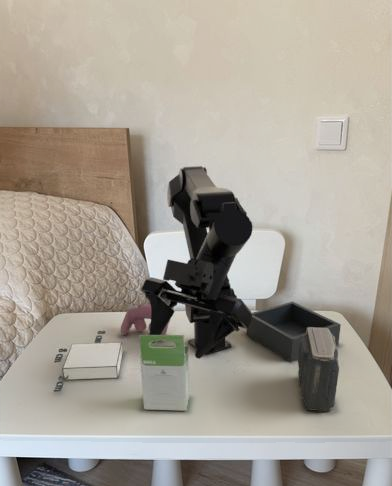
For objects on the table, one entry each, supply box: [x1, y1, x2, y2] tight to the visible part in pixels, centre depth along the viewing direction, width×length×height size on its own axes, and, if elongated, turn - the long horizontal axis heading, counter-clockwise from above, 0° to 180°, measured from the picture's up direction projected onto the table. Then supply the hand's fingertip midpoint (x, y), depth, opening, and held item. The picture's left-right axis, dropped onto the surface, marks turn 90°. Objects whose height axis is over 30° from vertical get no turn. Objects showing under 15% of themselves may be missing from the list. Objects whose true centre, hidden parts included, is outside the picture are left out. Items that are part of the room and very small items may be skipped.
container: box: [53, 330, 124, 392], centre depth 95 cm, size 20×12×3 cm, turn 2°
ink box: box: [138, 334, 190, 412], centre depth 81 cm, size 7×4×13 cm, turn 84°
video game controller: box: [120, 303, 171, 336], centre depth 107 cm, size 10×5×7 cm, turn 71°
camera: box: [297, 327, 340, 413], centre depth 84 cm, size 11×6×10 cm, turn 172°
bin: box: [246, 301, 341, 363], centre depth 103 cm, size 14×12×5 cm
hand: (173, 349), depth 81 cm, fingers open, 9 cm apart
